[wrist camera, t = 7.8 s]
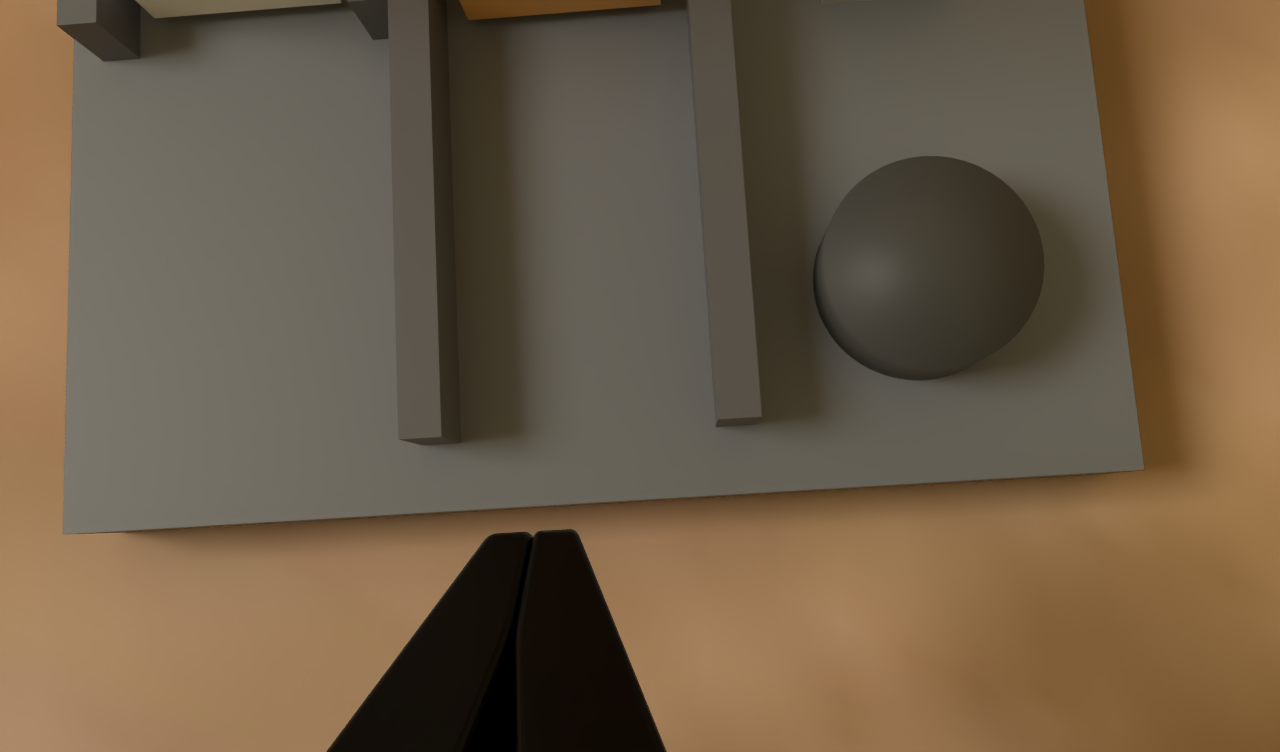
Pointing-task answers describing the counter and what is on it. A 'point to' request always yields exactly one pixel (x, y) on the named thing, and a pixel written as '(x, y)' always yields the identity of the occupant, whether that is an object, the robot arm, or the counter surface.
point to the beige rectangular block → (219, 6)
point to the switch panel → (582, 257)
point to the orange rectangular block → (541, 7)
